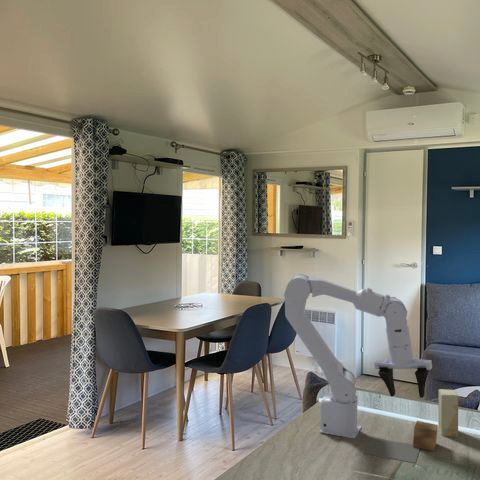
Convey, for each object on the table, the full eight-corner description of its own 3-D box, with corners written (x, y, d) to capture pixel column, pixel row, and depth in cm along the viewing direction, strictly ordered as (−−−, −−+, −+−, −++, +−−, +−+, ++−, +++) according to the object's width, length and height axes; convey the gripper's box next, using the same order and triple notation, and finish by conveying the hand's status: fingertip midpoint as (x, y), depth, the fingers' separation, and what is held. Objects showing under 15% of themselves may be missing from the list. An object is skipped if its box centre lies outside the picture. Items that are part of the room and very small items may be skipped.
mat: (363, 454, 131) (363, 453, 131) (372, 439, 140) (372, 437, 140) (415, 464, 126) (415, 462, 126) (420, 447, 135) (420, 445, 135)
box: (458, 437, 141) (459, 396, 140) (440, 436, 142) (441, 394, 141) (454, 429, 146) (455, 389, 145) (437, 428, 147) (438, 388, 146)
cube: (412, 446, 135) (414, 426, 134) (415, 439, 139) (417, 420, 139) (434, 451, 132) (435, 431, 132) (436, 444, 137) (437, 424, 137)
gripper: (431, 340, 141) (439, 391, 141) (377, 341, 149) (385, 389, 149) (424, 347, 135) (432, 401, 135) (368, 348, 143) (376, 398, 143)
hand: (407, 395), depth 142 cm, fingers open, 7 cm apart
